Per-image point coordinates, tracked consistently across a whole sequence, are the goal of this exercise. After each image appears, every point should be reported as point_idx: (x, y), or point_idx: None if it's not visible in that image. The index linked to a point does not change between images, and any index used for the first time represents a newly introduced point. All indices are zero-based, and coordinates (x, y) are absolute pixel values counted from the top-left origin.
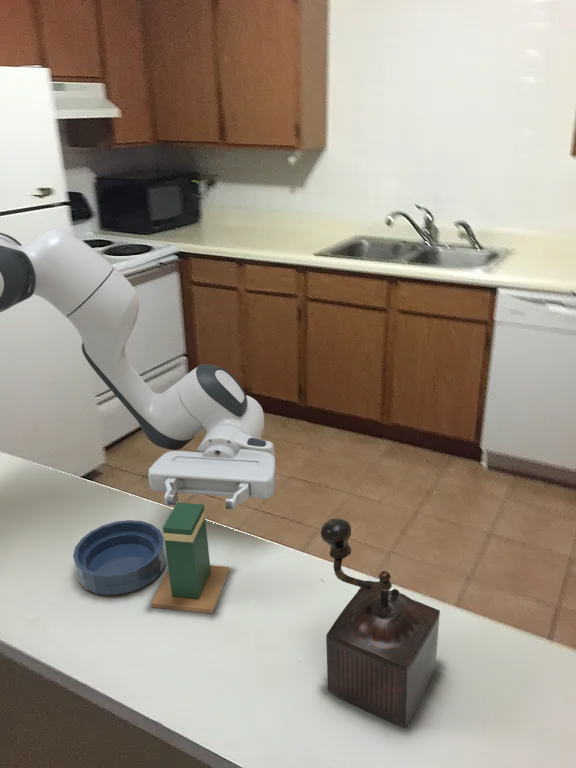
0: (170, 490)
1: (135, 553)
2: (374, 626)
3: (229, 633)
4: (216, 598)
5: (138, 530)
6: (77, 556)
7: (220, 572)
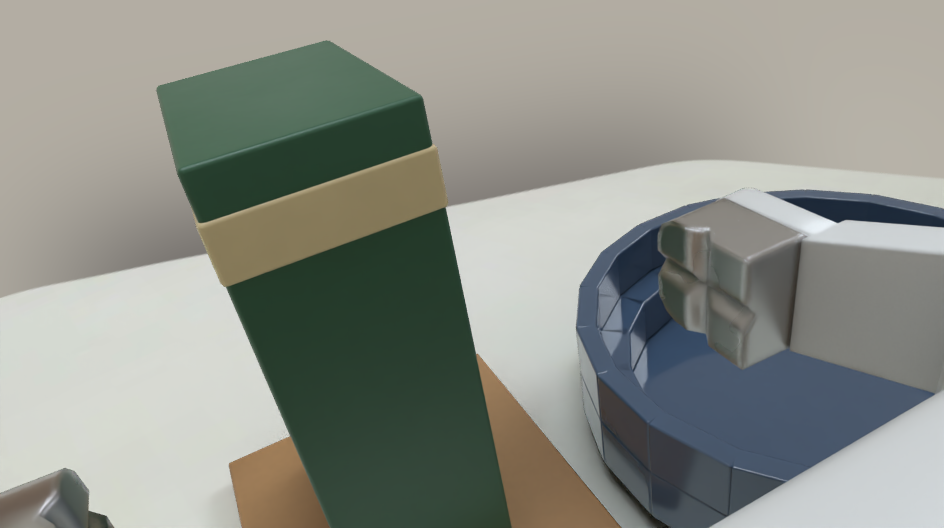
0: (795, 230)
1: None
2: None
3: (133, 460)
4: (239, 511)
5: None
6: (857, 200)
7: None
